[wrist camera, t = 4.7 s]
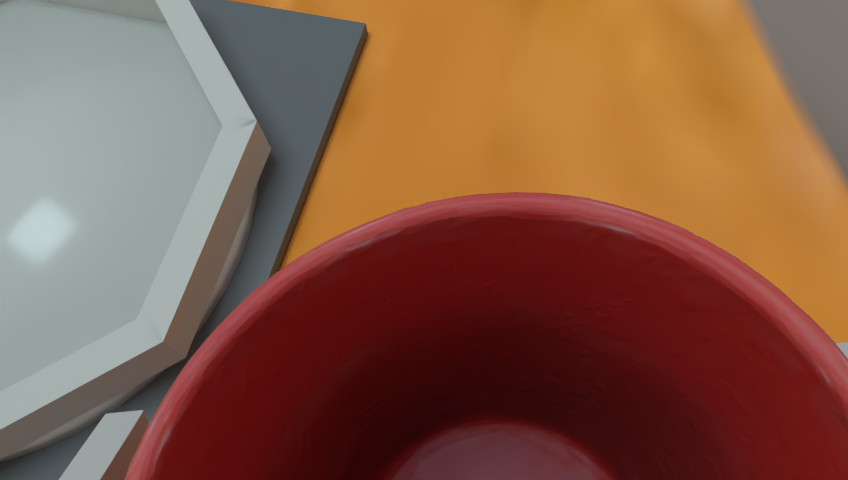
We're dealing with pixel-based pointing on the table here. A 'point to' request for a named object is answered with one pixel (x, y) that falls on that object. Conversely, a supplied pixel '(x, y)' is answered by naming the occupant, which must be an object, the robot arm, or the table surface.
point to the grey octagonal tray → (143, 194)
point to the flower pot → (508, 359)
